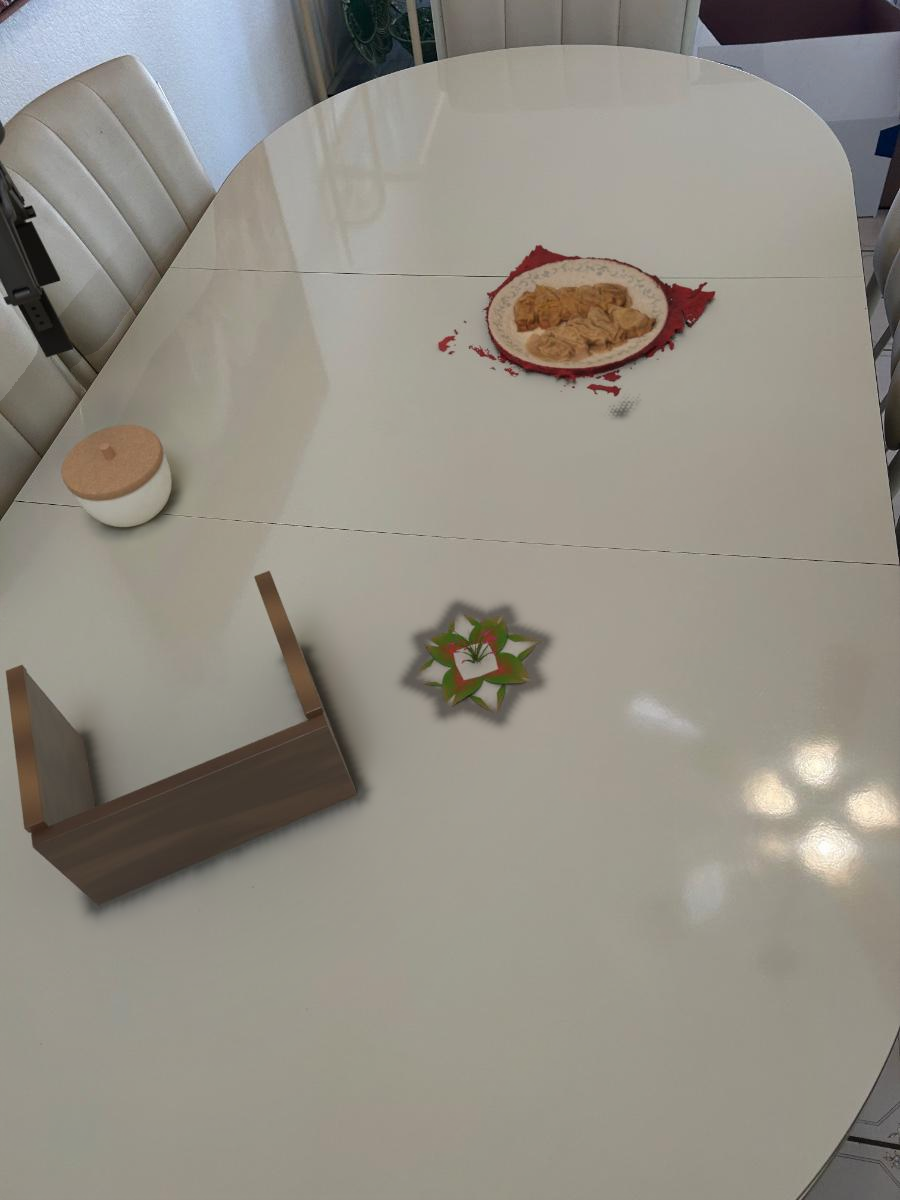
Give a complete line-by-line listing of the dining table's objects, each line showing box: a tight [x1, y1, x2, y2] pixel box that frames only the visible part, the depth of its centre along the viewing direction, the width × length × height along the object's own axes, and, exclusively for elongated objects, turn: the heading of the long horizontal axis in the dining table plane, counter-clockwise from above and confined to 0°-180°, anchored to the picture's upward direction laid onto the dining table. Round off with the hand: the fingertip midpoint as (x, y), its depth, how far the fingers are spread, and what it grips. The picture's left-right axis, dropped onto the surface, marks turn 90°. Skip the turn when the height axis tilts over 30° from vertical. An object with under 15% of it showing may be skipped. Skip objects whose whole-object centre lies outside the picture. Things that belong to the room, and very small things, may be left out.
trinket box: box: [61, 424, 173, 528], centre depth 101 cm, size 11×11×9 cm
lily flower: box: [417, 614, 542, 715], centre depth 84 cm, size 12×12×5 cm
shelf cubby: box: [5, 570, 358, 906], centre depth 77 cm, size 16×23×13 cm
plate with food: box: [437, 244, 716, 397], centre depth 114 cm, size 24×26×4 cm
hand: (53, 315), depth 96 cm, fingers open, 13 cm apart
